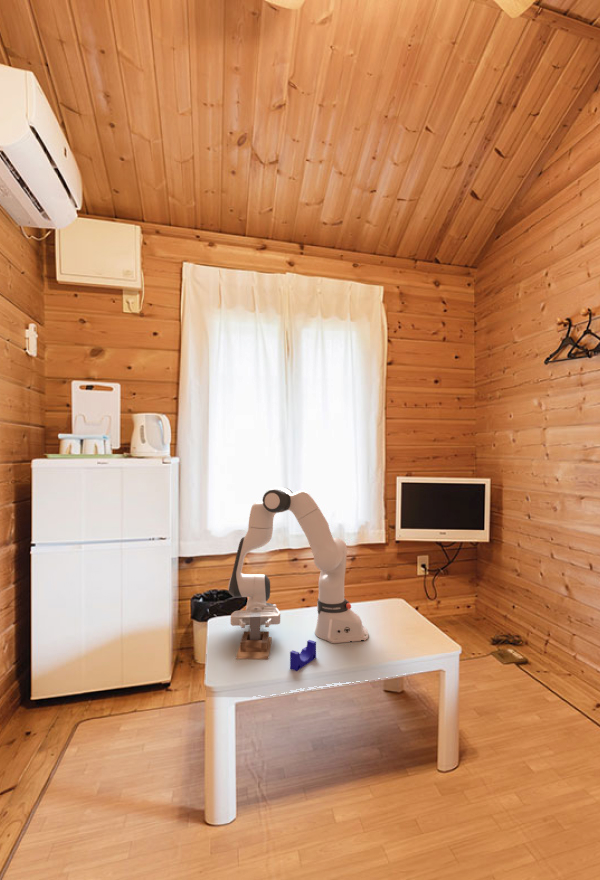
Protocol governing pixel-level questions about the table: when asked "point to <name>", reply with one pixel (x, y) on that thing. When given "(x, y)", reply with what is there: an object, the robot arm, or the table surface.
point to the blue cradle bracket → (303, 656)
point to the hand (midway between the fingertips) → (255, 625)
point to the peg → (255, 626)
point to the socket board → (254, 654)
